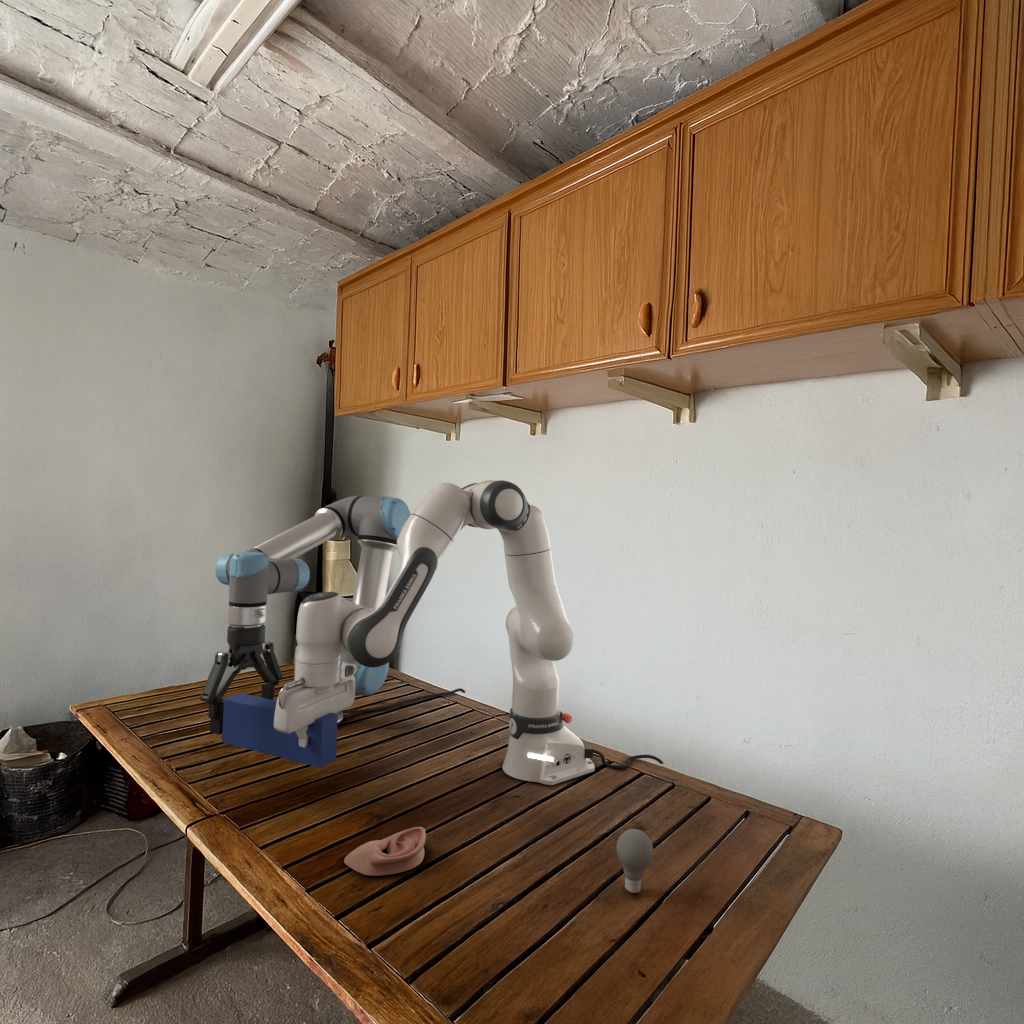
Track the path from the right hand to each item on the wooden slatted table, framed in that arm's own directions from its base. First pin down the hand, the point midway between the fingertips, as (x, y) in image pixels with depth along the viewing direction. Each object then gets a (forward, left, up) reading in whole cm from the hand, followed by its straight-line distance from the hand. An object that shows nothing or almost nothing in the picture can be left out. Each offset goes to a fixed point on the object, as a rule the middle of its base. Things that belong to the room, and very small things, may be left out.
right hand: (315, 740), depth 128 cm
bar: (+6, -8, -4) cm, 11 cm away
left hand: (+13, -15, 0) cm, 20 cm away
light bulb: (-43, +48, -14) cm, 66 cm away
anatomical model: (-8, +23, -14) cm, 28 cm away
